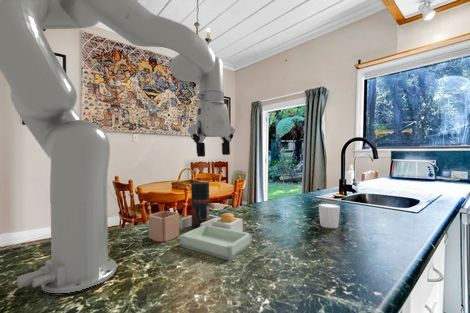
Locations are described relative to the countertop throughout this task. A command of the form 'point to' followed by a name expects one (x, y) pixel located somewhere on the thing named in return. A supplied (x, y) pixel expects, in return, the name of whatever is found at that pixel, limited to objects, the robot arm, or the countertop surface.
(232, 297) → the countertop surface
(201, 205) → the deodorant
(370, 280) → the countertop surface
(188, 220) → the white recessed tray
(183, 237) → the trough
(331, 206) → the white tapered cylinder
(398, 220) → the countertop surface
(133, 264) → the countertop surface
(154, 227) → the cup
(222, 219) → the button
